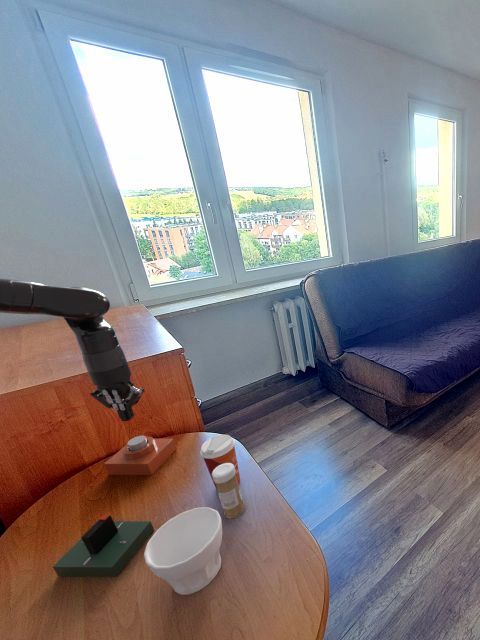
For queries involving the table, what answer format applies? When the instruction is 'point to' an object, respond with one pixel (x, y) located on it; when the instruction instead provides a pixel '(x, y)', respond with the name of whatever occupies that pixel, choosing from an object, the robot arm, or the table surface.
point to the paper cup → (219, 453)
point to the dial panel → (105, 552)
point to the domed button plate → (141, 458)
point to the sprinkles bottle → (228, 490)
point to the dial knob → (99, 534)
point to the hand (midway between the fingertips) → (128, 419)
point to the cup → (187, 550)
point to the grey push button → (137, 443)
